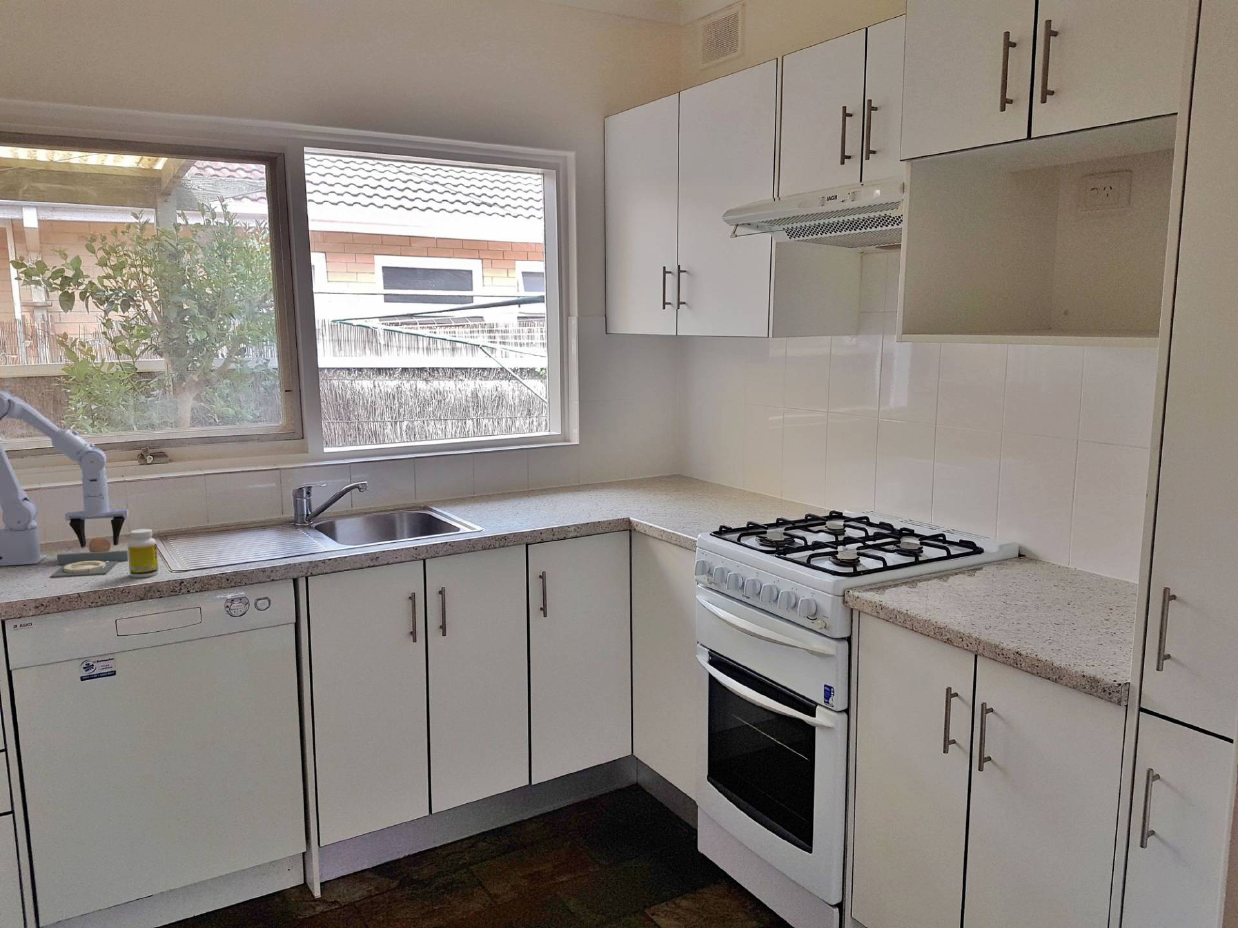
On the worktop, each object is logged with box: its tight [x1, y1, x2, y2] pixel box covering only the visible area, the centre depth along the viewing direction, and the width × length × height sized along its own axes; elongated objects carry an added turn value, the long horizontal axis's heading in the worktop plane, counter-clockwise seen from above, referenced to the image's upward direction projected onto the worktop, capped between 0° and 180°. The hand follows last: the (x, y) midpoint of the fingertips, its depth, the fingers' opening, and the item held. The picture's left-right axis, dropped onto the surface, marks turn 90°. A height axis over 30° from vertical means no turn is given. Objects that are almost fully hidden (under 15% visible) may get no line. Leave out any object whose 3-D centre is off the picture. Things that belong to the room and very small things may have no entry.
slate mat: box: [50, 561, 119, 579], centre depth 228 cm, size 12×12×1 cm
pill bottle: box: [127, 528, 159, 579], centre depth 223 cm, size 6×6×11 cm
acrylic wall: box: [56, 549, 129, 566], centre depth 235 cm, size 16×1×2 cm, turn 107°
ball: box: [88, 536, 111, 552], centre depth 242 cm, size 5×5×5 cm
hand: (99, 545), depth 242 cm, fingers open, 7 cm apart
